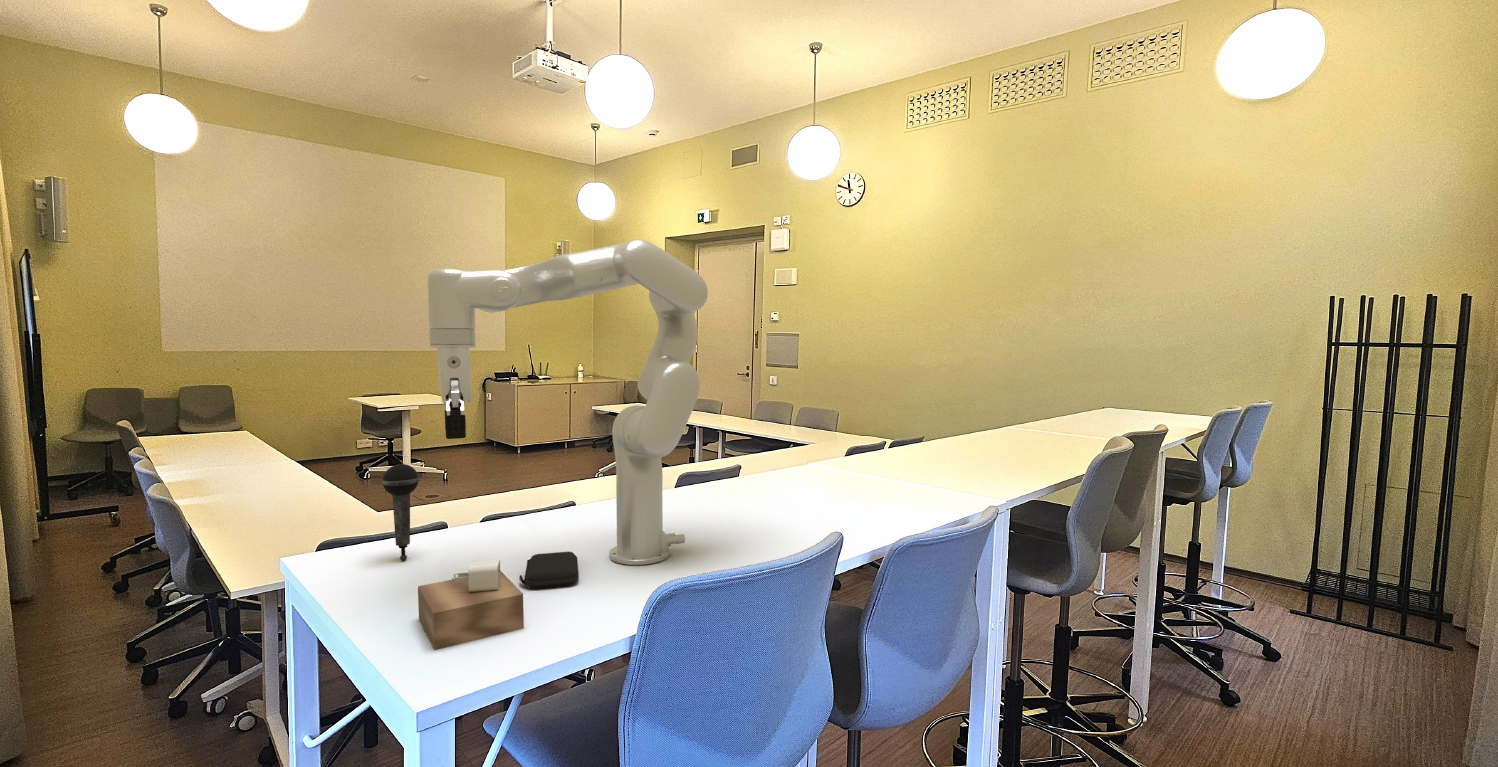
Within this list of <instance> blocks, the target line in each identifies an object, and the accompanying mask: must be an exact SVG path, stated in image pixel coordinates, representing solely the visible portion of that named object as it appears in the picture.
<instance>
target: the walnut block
mask: <svg viewBox="0 0 1498 767" xmlns="http://www.w3.org/2000/svg"><path fill="white" fill-rule="evenodd" d="M453 581H456V579H453ZM417 602H418V621H419V623H420V625H421V627H422V629H423V630H424V633H425V635H426V636H427V638H428V640H429V643H430V644H431V646H432V648H433V650H434V651H437V650H441V649H445V648H449V647H453V646H458V645H462V644H465V643H470V642H474V641H479V640H483V639H486V638H490V637H494V636H495V637H496V636H499V635H503V634H507V633H511V632H514V631H515V632H516V631H519V630H522V629H524V628H525V620H524V618H525V616H524V615H525V614H524V611H525V610H524V593H523V592H522V591H521V590H520V589H519V588H518V587H517V585H515V584H514V583H513V581H512V580H510V579H509V577H507V576H506V575H505V573H504V572H502V570H501V569H500V586H499V589H498V590H489V591H477V592H469V581H468V582H452V579H447V580H442V581H437V582H433V583H426V584H423V585H417Z"/></svg>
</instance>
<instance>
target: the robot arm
mask: <svg viewBox="0 0 1498 767" xmlns="http://www.w3.org/2000/svg"><path fill="white" fill-rule="evenodd" d="M635 285H641V286H642V287H644V288H645V289H646V290H648V297H649V298H648V299H649V303H650V304H651V307H652V308H653V310H654V313H655V315H656V318H657V323H658V324H657V325H658V329H657V332H656V337H655V339H654V341H653V344H652V347H651V349H650V351H649V353H648V355H647V358H646V360H645V361H644V364H643V367H642V368H641V371H640V373H639V376H638V380H637V389H638V392H639V394H640V395H641V396H642V397H643V398H644V399H645V400H647V401H646V403H645V405H636V404H635V405H631V406H628V407H625V408H623V409H622V410H621V411H620V412H619V413H618V414H617V415H616V417H615V418H614V421H613V425H612V434H611V435H612V443H613V449H614V450H613V452H614V456H615V457H614V459H615V473H616V474H615V476H616V481H615V482H616V484H615V488H616V489H615V490H616V491H615V492H616V494H615V496H616V497H615V498H616V502H615V503H616V546H614V547H612V548H611V549H610V550H609V559H610V560H611V561H613V562H614V563H618V564H622V565H630V566H642V565H651V564H655V563H659V562H661V561H664V560H666V559H668V558H669V557H670V556H671V548H670V547H672V545H679V544H681V545H682V544H685V543H686V536H685V534H684V533H680V534H676V533H675V532H671V533H665V531H663V530H664V529H663V524H664V523H663V514H664V512H663V509H664V508H663V465H662V463H663V462H662V458H663V457H666V456H667V455H669V454H670V453H672V452H673V451H674V449H675V448H676V447H677V446H678V444H679V442H680V440H681V438H682V436H683V434H684V431H685V429H686V426H687V424H688V422H689V420H690V417H691V415H692V412H693V410H694V408H695V406H696V403H697V401H698V397H699V394H700V386H701V381H700V377H699V374H698V371H697V370H696V369H695V367H694V366H693V365H692V364H691V360H692V356H693V354H694V351H695V349H696V345H697V341H698V323H697V320H696V316H695V313H696V312H698V311H699V310H701V309H702V308H703V306H704V305H705V304H706V303H707V299H708V296H709V293H708V292H709V289H708V285H707V283H706V282H705V280H704V278H703V277H702V275H700V274H699V272H698V271H695V270H694V269H693V268H691V267H689V266H688V265H687V264H685V263H684V262H683V261H681V260H679V259H677V258H676V257H675V256H673V255H671V254H670V253H668V252H667V251H665V250H663V249H662V248H661V247H659V246H658V245H656V244H654V243H652V242H650V241H647V240H646V239H633V240H630V241H627V242H623V243H618V244H614V245H613V244H612V245H609V246H602V247H598V248H593V249H588V250H583V251H581V250H580V251H576V252H569V253H565V254H561V255H558V256H554V257H551V258H548V259H547V260H546V259H545V260H544V261H541V262H537V263H533V264H530V265H529V264H528V265H525V266H520V267H515V268H510V269H505V270H503V269H487V270H486V269H485V270H465V269H459V268H436V269H432V270H431V271H430V272H429V273H428V275H427V305H428V328H429V329H428V332H429V333H428V337H429V338H428V339H429V342H428V343H429V348H431V349H432V348H433V349H434V348H435V349H437V350H436V351H437V352H436V353H437V374H438V385H439V387H438V388H439V393H440V399H441V402H442V403H443V404H445V410H444V429H445V430H444V431H445V438H446V439H447V440H452V439H453V440H456V439H466V438H467V428H466V427H467V423H466V422H467V421H466V419H467V418H466V414H465V406H464V405H465V404H464V401H467V403H468V404H471V403H472V401H473V398H472V397H473V395H472V392H473V391H472V367H471V365H472V364H471V351H470V348H476V322H475V321H476V316H475V315H476V314H475V312H476V311H475V310H476V309H478V310H479V311H482V312H484V313H491V314H492V313H501V312H506V311H509V310H511V309H514V308H515V309H517V308H519V307H524V306H531V305H534V304H539V303H547V302H552V301H553V302H555V301H566V300H570V299H572V300H573V299H576V298H581V297H585V296H590V295H594V294H599V293H602V292H603V293H604V292H609V291H612V290H617V289H623V288H626V287H631V286H635Z"/></svg>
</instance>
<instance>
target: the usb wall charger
mask: <svg viewBox="0 0 1498 767" xmlns="http://www.w3.org/2000/svg"><path fill="white" fill-rule="evenodd" d="M467 570H468V572H457V573H453V577H452V578H451V580H452V582H468V581H469V592H477V591H489V590H498V589H499V586H500V570H501V560H500V559H494V560H493V559H492V560H491V559H490V560H479V561H471V562H470V564H469V566H468V569H467ZM457 575H458V576H457ZM453 579H456V581H453Z"/></svg>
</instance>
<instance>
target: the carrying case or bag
mask: <svg viewBox="0 0 1498 767" xmlns="http://www.w3.org/2000/svg"><path fill="white" fill-rule="evenodd" d="M578 580H579V563H578V556H577V555H576V554H575V553H574V552H572V551H560V552H559V551H558V552H546V553H537V554H533V555H532V556H530V558H529V559H527V560H526V567H525V574H524V578H523V576H522V574H520V575H519V581H520V583H521V584H522V585H524V586H526V587H528V589H530V590H543V589H544V590H545V589H556V588H557V589H558V588H568V587H572V586H574V585H575V584H576V582H578Z"/></svg>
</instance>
